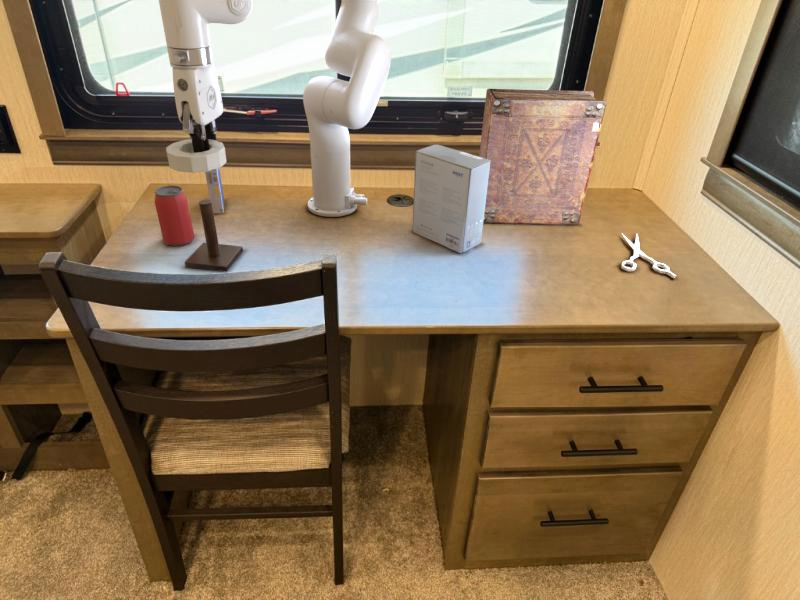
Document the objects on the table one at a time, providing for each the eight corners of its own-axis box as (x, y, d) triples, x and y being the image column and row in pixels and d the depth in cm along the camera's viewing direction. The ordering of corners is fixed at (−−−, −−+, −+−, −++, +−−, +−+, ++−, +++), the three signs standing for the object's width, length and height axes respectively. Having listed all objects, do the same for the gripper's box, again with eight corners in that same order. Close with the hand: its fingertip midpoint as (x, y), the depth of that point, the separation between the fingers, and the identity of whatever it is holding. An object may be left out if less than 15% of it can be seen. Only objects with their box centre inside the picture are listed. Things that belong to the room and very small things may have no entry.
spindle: (243, 251, 122) (235, 195, 115) (226, 271, 115) (217, 213, 107) (204, 247, 123) (193, 191, 116) (185, 267, 116) (173, 209, 108)
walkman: (213, 201, 143) (205, 155, 137) (224, 200, 144) (217, 155, 137) (211, 214, 137) (203, 167, 130) (223, 213, 138) (216, 166, 131)
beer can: (185, 248, 122) (174, 198, 115) (157, 245, 123) (145, 194, 116) (200, 235, 127) (190, 186, 121) (173, 232, 128) (163, 182, 122)
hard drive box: (482, 243, 129) (492, 160, 117) (461, 255, 124) (471, 169, 113) (431, 222, 137) (436, 142, 126) (410, 231, 133) (414, 150, 121)
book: (568, 209, 146) (594, 91, 129) (578, 225, 138) (608, 101, 122) (472, 207, 145) (486, 88, 128) (477, 223, 138) (493, 98, 121)
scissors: (625, 271, 119) (606, 228, 135) (624, 274, 119) (605, 231, 135) (676, 275, 118) (651, 232, 134) (675, 278, 118) (650, 235, 135)
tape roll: (234, 156, 111) (232, 141, 109) (212, 174, 102) (209, 158, 101) (184, 151, 112) (182, 137, 110) (158, 169, 103) (155, 154, 102)
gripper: (190, 66, 93) (207, 172, 103) (228, 50, 106) (240, 144, 117) (148, 63, 94) (169, 168, 104) (191, 47, 107) (206, 141, 117)
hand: (206, 155), depth 110 cm, fingers closed on tape roll, 2 cm apart
